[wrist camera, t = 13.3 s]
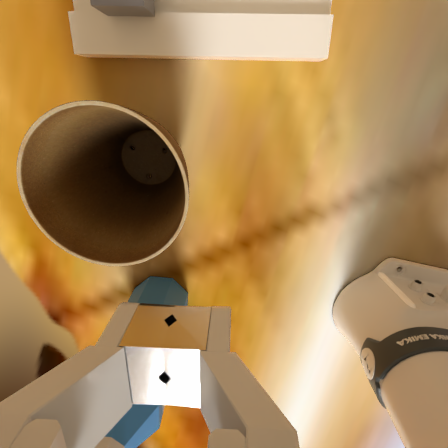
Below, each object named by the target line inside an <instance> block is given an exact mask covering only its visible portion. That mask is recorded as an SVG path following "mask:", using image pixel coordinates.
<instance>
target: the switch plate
mask: <svg viewBox="0 0 448 448" xmlns="http://www.w3.org/2000/svg"><path fill="white" fill-rule="evenodd" d="M331 4H332V0H154V7H155V17H137V16H107V15H105V14H104V13H102V12H100V11H99V10H97V9H96V8H94V7H93V6H91V3H90V0H73V5H74V11H68V16H69V22H70V29H71V36H72V42H73V49H74V54H76V55H80V56H84V57H101V58H157V59H214V60H270V61H323V60H325V59H327V58H328V53H329V46H330V38H331V31H332V23H333V16H334V15H330V11H331Z"/></svg>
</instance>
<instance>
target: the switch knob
mask: <svg viewBox="0 0 448 448" xmlns="http://www.w3.org/2000/svg"><path fill="white" fill-rule="evenodd" d="M90 3H91V6H93V7H94V8H96V9H97V10H99V11H100V12H102V13H104V14H105V15H107V16H137V17H155V7H154V0H90Z"/></svg>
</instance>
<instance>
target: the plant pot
mask: <svg viewBox="0 0 448 448" xmlns="http://www.w3.org/2000/svg"><path fill="white" fill-rule="evenodd" d="M131 147H134V150H133V149H132V148H131ZM164 148H166V150H165V151H164V150H163V149H164ZM150 174H151V178H150V177H149V175H150ZM17 182H18V187H19V191H20V195H21V198H22V200H23V203H24V205H25V207H26V209H27V211H28V213H29V215H30V216H31V218H32V219H33V221H34V222H35V224H36V225H37V226H38V227H39V229H40V230H41V231H42V232H43V233H44V234H45V235H46V236H47V237H48V238H49V239H50V240H51V241H52V242H53V243H55V244H56V245H57V246H59V247H60V248H61V249H63V250H65V251H66V252H68V253H70V254H72V255H74V256H76V257H78V258H80V259H82V260H85V261H88V262H91V263H95V264H100V265H106V266H128V265H134V264H138V263H142V262H145V261H147V260H149V259H152V258H154V257H155V256H157V255H159V254H160V253H161V252H163V251H164V250H165V249H166V248H168V247H169V246H170V245H171V243H172V242H173V241H174V240H175V238H176V237H177V236H178V234H179V232H180V231H181V229H182V227H183V224H184V222H185V219H186V215H187V211H188V203H189V181H188V172H187V166H186V162H185V159H184V156H183V154H182V151H181V149H180V147H179V145H178V144H177V142H176V141H175V139H174V138H173V137H172V135H171V134H170V133H169V132H168V131H167V130H166V129H165V128H164V127H162V126H161V125H160V124H159V123H157V122H156V121H154V120H152V119H151V118H149V117H147V116H145V115H143V114H141V113H139V112H136V111H134V110H131V109H128V108H126V107H123V106H120V105H116V104H112V103H108V102H103V101H94V100H85V101H75V102H70V103H66V104H63V105H60V106H58V107H55V108H53V109H51V110H50V111H48V112H46V113H45V114H44V115H42V116H41V117H40V118H39V119H38V120H37V121H36V122H35V123H34V124H33V125H32V126H31V127H30V128H29V130H28V131H27V133H26V135H25V137H24V139H23V141H22V143H21V146H20V149H19V153H18V158H17Z"/></svg>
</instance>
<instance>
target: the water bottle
mask: <svg viewBox="0 0 448 448" xmlns="http://www.w3.org/2000/svg"><path fill="white" fill-rule="evenodd" d="M128 302H129V303H148V304H164V305H176V306H187V304H188V292H186V291H185V290H184V289H183V288H182V287H181V286H180V285H179V284H178V283H177V282H176V281H175V280H174V279H173V278H164V277H153V276H150V277H149V278H147V279H146V280H145V281H143V282H142V283H141V284H140V285H138V286H137V287H136V288H135V289H134V291H133V293H132V295H131V296H130V298H129V300H128ZM164 406H165V405H148V404H132V407H131V408H130V409H129V410H128V411H127V413H126V414H125V415H124V416H123V417H122V418H121V419H120V420H119V421H118V422H117V423H116V425H115V426H114V427H113V428H112V429H111V430H110V431H109V432H108V433H107V434H106V435H105V437H104V438H103V439H102V440H101V441H100V442H99V443H98V444H97V445H96V446H95V447H94V448H136V447H138V446H139V445H140V444H141V443H142V442H143V441H145V440H146V439H147V438H148V437H149V436H151V435H152V434H153V433H154V432H155V431H157V430H158V429H159V427H160V423H161V419H162V415H163V410H164Z"/></svg>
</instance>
